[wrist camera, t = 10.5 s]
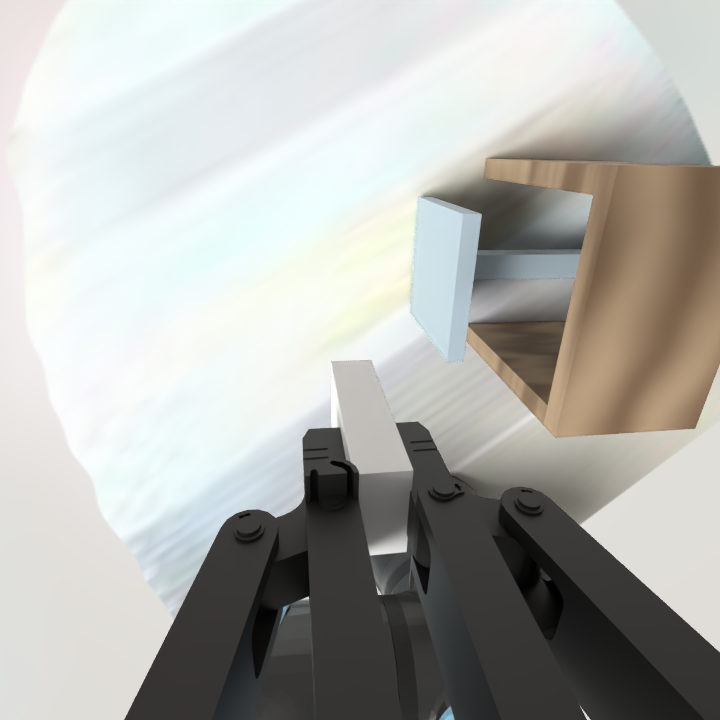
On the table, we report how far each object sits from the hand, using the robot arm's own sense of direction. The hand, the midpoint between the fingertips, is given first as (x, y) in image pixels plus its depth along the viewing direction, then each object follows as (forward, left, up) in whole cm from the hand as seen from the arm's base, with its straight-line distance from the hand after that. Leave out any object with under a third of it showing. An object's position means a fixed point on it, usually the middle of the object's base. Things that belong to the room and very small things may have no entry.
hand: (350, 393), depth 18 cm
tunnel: (+10, -17, -24) cm, 31 cm away
